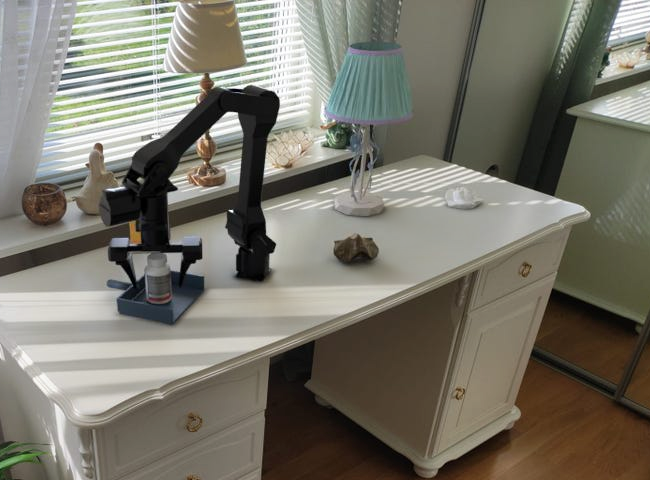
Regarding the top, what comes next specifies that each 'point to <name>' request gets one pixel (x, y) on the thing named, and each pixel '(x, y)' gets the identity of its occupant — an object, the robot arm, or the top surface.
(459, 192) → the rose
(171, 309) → the dustpan
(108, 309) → the top surface
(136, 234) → the supplement box
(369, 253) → the fossilized seashell
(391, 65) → the table lamp
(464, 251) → the top surface
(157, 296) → the pill bottle
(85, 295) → the top surface
